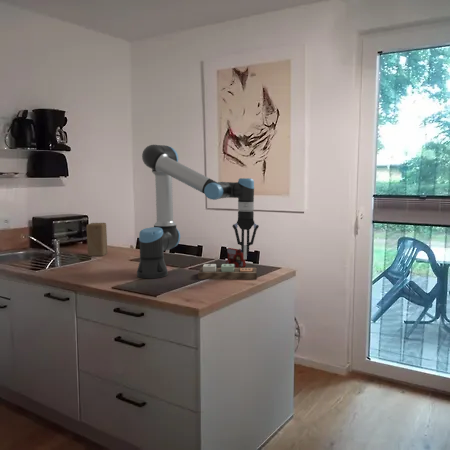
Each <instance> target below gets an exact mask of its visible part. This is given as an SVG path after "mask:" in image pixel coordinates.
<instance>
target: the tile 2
mask: <svg viewBox="0 0 450 450" xmlns="http://www.w3.org/2000/svg"><path fill="white" fill-rule="evenodd" d="M220 268H221V272H234V264H225V263H222V264H221V265H220Z"/></svg>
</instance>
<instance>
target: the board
mask: <svg viewBox="0 0 450 450" xmlns="http://www.w3.org/2000/svg"><path fill="white" fill-rule="evenodd" d="M240 268H241V267H239V268H234V272H221V267H216V272H203V267H200V269H199V271H198V272H197V279H198V280H257V279H258V277H257V270H258V269H257V267H252V268H253V272H240Z"/></svg>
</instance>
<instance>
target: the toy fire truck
mask: <svg viewBox="0 0 450 450" xmlns="http://www.w3.org/2000/svg"><path fill="white" fill-rule="evenodd" d="M226 252H227V260H226V261H225V263H224V264H234V268H246V266H247V264H246V263H247V262H246V259H244V252H241V248H239V249H237V248H234V247H233V248H232V247H228V248H227V249H226Z"/></svg>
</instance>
